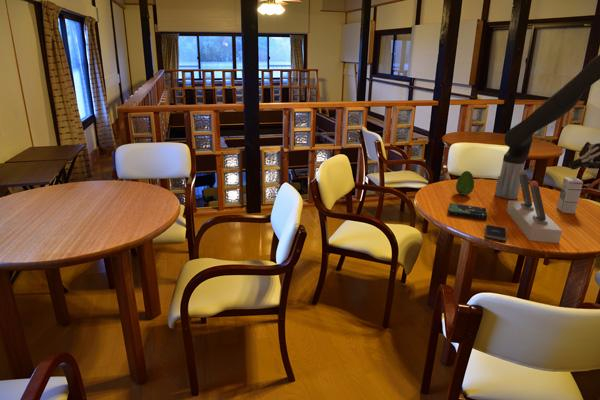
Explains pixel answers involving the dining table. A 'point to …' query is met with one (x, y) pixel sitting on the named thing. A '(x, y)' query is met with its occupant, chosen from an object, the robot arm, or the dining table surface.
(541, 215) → the outer lever
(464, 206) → the disk drive
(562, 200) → the syrup box
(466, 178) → the avocado
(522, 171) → the inner lever
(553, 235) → the box
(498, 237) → the external hard drive
